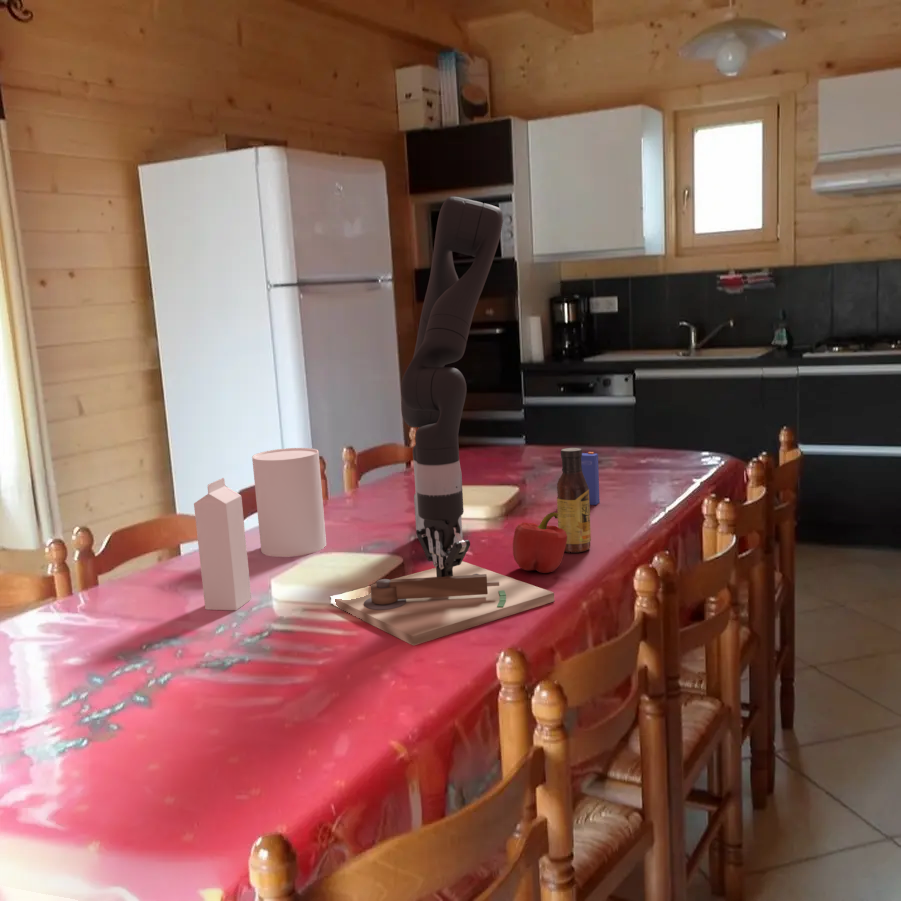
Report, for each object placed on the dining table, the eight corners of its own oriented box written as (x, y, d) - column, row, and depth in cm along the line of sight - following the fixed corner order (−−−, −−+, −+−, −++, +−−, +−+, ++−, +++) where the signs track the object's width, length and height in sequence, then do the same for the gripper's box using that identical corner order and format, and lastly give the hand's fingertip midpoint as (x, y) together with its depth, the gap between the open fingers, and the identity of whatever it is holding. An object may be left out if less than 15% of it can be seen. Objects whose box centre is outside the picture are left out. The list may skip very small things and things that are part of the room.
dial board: (330, 604, 167) (329, 594, 166) (462, 568, 182) (461, 559, 182) (413, 645, 146) (412, 634, 145) (554, 601, 161) (554, 591, 161)
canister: (339, 544, 204) (331, 450, 201) (288, 560, 195) (279, 462, 191) (299, 535, 213) (291, 446, 210) (248, 550, 204) (238, 456, 200)
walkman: (599, 502, 227) (598, 452, 225) (595, 505, 225) (594, 454, 222) (567, 500, 231) (565, 451, 228) (563, 503, 228) (561, 453, 226)
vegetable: (539, 557, 186) (536, 506, 185) (582, 566, 179) (580, 514, 177) (500, 572, 179) (497, 519, 177) (543, 582, 172) (541, 527, 170)
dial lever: (372, 596, 163) (371, 578, 163) (498, 589, 163) (497, 570, 162) (370, 605, 159) (369, 586, 158) (500, 597, 159) (499, 578, 158)
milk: (205, 610, 168) (190, 485, 164) (221, 598, 173) (207, 477, 170) (237, 610, 166) (223, 484, 162) (252, 598, 172) (239, 477, 168)
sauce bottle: (590, 554, 187) (586, 452, 183) (557, 554, 188) (553, 453, 184) (592, 544, 193) (588, 446, 189) (560, 544, 194) (556, 446, 191)
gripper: (481, 490, 157) (487, 592, 160) (435, 478, 168) (441, 574, 171) (443, 498, 153) (449, 603, 156) (398, 485, 164) (405, 584, 167)
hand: (445, 588), depth 164 cm, fingers closed
